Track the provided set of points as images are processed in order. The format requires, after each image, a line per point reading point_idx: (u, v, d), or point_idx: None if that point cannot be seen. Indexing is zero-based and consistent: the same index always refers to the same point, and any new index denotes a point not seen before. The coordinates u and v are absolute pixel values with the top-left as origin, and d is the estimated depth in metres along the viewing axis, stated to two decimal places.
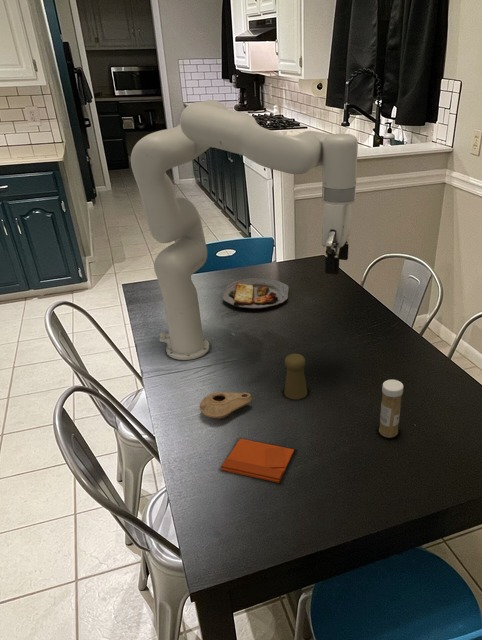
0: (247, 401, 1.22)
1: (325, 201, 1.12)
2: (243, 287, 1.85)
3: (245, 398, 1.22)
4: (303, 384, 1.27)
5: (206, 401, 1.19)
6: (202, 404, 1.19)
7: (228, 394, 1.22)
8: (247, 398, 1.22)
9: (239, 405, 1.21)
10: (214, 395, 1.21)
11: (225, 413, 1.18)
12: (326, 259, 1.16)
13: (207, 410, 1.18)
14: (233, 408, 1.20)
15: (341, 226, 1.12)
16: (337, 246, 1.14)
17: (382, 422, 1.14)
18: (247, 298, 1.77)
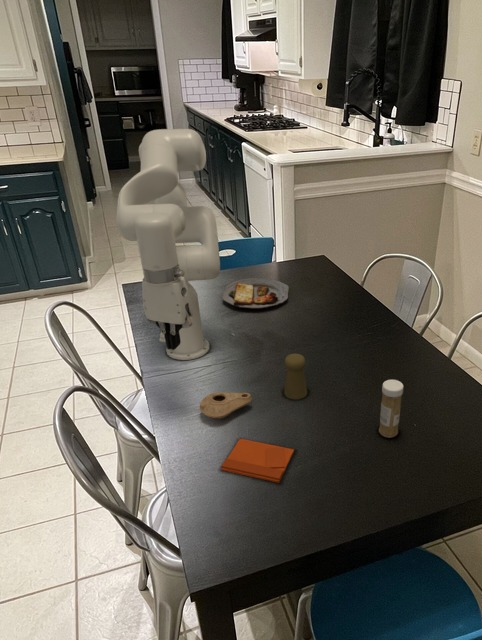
0: (247, 401, 1.22)
1: None
2: (243, 287, 1.85)
3: (245, 398, 1.22)
4: (303, 384, 1.27)
5: (206, 401, 1.19)
6: (202, 404, 1.19)
7: (228, 394, 1.22)
8: (247, 398, 1.22)
9: (239, 405, 1.21)
10: (214, 395, 1.21)
11: (225, 413, 1.18)
12: None
13: (207, 410, 1.18)
14: (233, 408, 1.20)
15: None
16: None
17: (382, 422, 1.14)
18: (247, 298, 1.77)
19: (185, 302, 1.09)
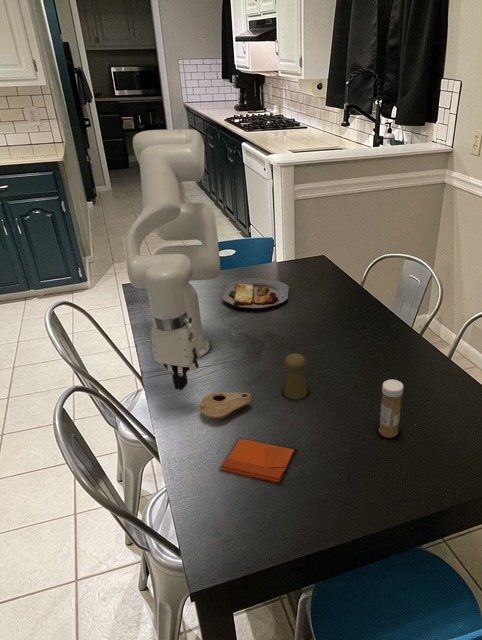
0: (247, 401, 1.22)
1: None
2: (243, 287, 1.85)
3: (245, 398, 1.22)
4: (303, 384, 1.27)
5: (206, 401, 1.19)
6: (202, 404, 1.19)
7: (228, 394, 1.22)
8: (247, 398, 1.22)
9: (239, 405, 1.21)
10: (214, 395, 1.21)
11: (225, 413, 1.18)
12: None
13: (207, 410, 1.18)
14: (233, 408, 1.20)
15: (152, 343, 1.16)
16: None
17: (382, 422, 1.14)
18: (247, 298, 1.77)
19: (192, 346, 1.15)
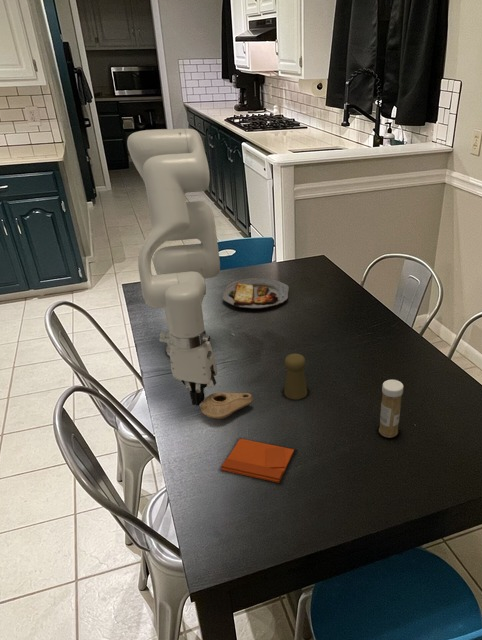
0: (248, 401, 1.22)
1: None
2: (243, 287, 1.85)
3: (246, 398, 1.22)
4: (303, 384, 1.27)
5: (207, 401, 1.19)
6: (203, 404, 1.19)
7: (229, 394, 1.22)
8: (248, 399, 1.22)
9: (240, 405, 1.21)
10: (215, 395, 1.21)
11: (226, 413, 1.18)
12: None
13: (208, 410, 1.18)
14: (234, 408, 1.20)
15: (170, 360, 1.17)
16: None
17: (382, 422, 1.14)
18: (247, 298, 1.77)
19: (210, 364, 1.16)
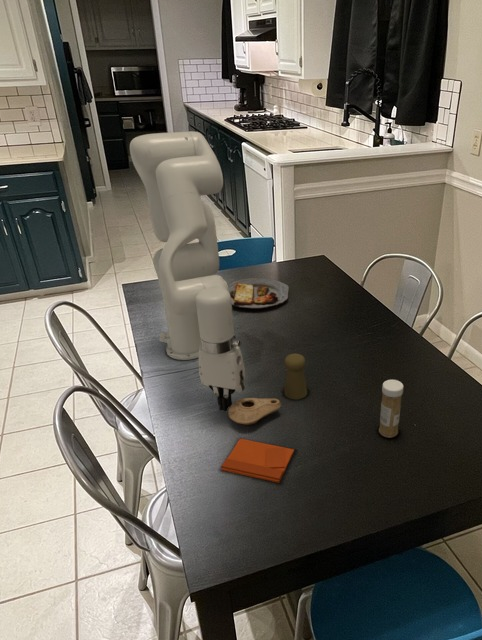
0: (276, 407, 1.20)
1: None
2: (243, 287, 1.85)
3: (274, 404, 1.20)
4: (303, 384, 1.27)
5: (235, 407, 1.17)
6: (231, 410, 1.17)
7: (257, 400, 1.20)
8: (276, 404, 1.20)
9: (268, 411, 1.19)
10: (243, 401, 1.19)
11: (254, 419, 1.16)
12: None
13: (236, 416, 1.16)
14: (262, 414, 1.18)
15: None
16: None
17: (382, 422, 1.14)
18: (247, 298, 1.77)
19: (239, 369, 1.14)
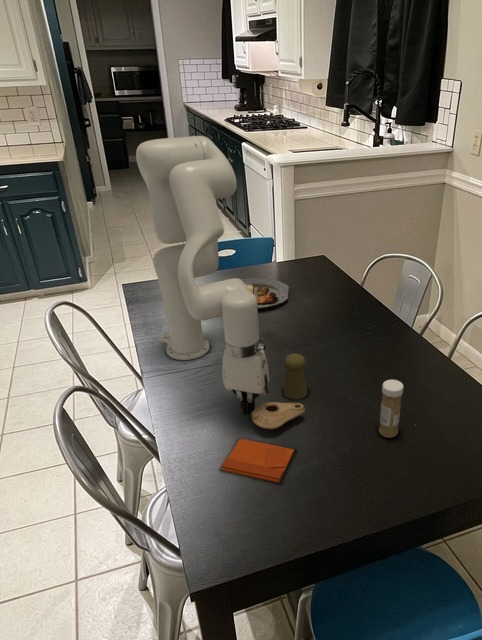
0: (300, 412, 1.18)
1: None
2: None
3: (298, 409, 1.18)
4: (303, 384, 1.27)
5: (259, 411, 1.16)
6: (255, 414, 1.16)
7: (281, 404, 1.19)
8: (300, 409, 1.18)
9: (292, 416, 1.17)
10: (267, 405, 1.18)
11: (279, 424, 1.14)
12: None
13: (260, 420, 1.15)
14: (286, 419, 1.16)
15: (222, 369, 1.14)
16: None
17: (382, 422, 1.14)
18: None
19: (264, 373, 1.12)
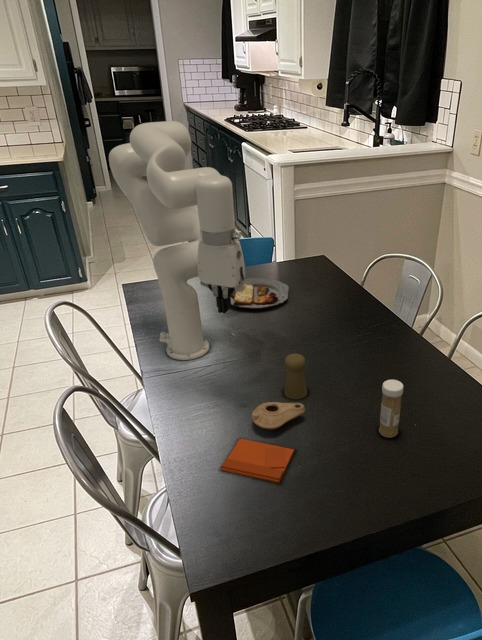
0: (300, 412, 1.18)
1: None
2: None
3: (298, 409, 1.18)
4: (303, 384, 1.27)
5: (259, 411, 1.16)
6: (255, 414, 1.15)
7: (281, 404, 1.19)
8: (300, 409, 1.18)
9: (292, 416, 1.17)
10: (267, 405, 1.18)
11: (279, 424, 1.14)
12: None
13: (260, 420, 1.15)
14: (287, 419, 1.16)
15: (197, 261, 1.12)
16: None
17: (382, 422, 1.14)
18: (247, 298, 1.77)
19: (239, 265, 1.11)
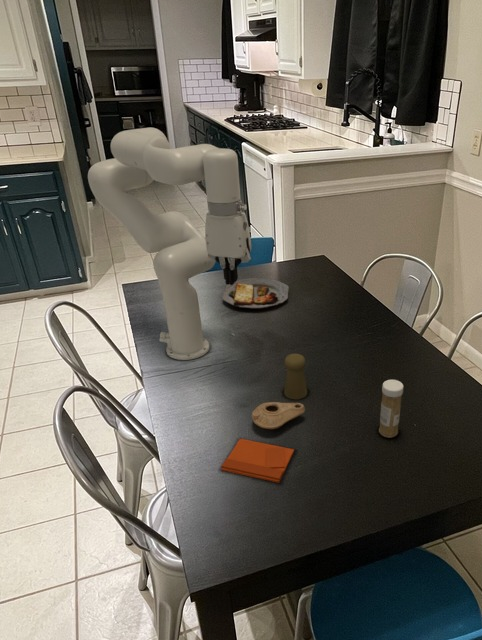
0: (300, 412, 1.18)
1: None
2: (243, 287, 1.85)
3: (298, 409, 1.18)
4: (303, 384, 1.27)
5: (259, 411, 1.16)
6: (255, 414, 1.15)
7: (281, 404, 1.19)
8: (300, 409, 1.18)
9: (292, 416, 1.17)
10: (267, 405, 1.18)
11: (279, 424, 1.14)
12: None
13: (260, 420, 1.15)
14: (287, 419, 1.16)
15: (205, 233, 1.17)
16: None
17: (382, 422, 1.14)
18: (247, 298, 1.77)
19: (246, 236, 1.16)
